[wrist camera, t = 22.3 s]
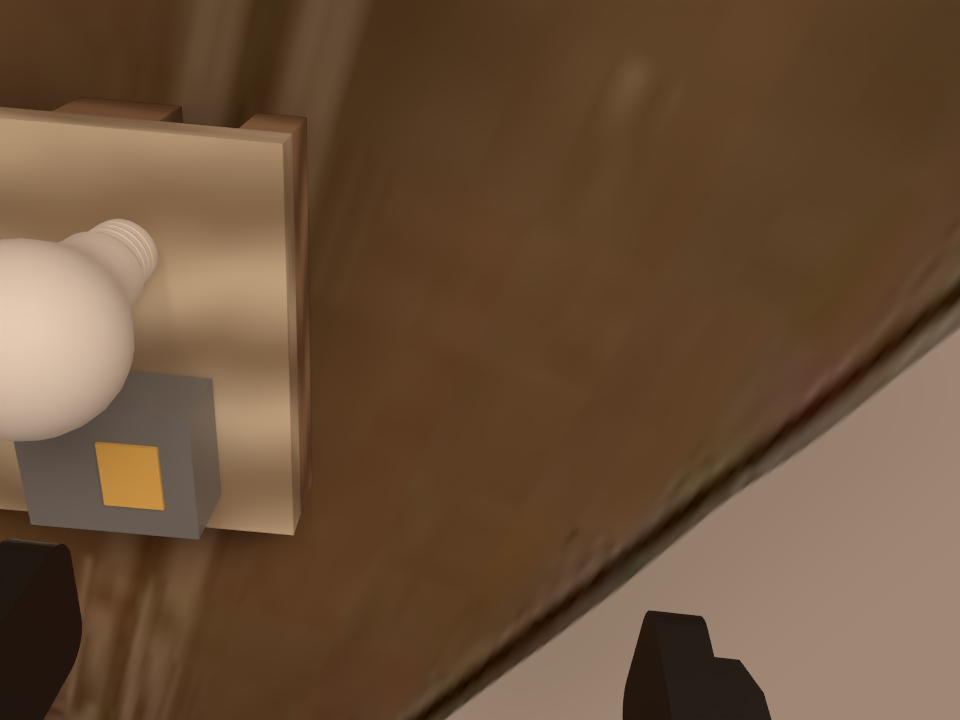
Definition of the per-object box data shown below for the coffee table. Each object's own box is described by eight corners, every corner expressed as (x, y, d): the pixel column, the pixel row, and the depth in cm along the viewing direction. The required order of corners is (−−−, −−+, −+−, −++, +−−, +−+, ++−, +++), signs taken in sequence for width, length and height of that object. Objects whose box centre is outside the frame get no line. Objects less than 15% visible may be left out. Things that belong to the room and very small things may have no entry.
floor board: (-296, 62, 35) (-387, 83, 31) (306, 117, 35) (282, 144, 31) (-171, 439, 43) (-232, 488, 40) (311, 482, 44) (293, 535, 40)
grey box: (42, 363, 36) (2, 403, 33) (212, 378, 36) (186, 419, 33) (64, 481, 39) (29, 526, 36) (220, 495, 39) (198, 541, 36)
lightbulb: (240, 228, 33) (116, 376, 23) (170, 341, 35) (32, 517, 26) (91, 130, 31) (-108, 245, 22) (29, 256, 34) (-173, 408, 24)
